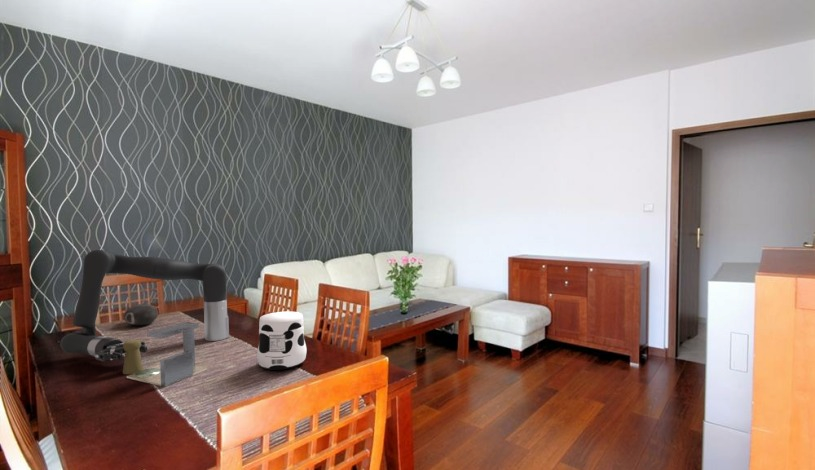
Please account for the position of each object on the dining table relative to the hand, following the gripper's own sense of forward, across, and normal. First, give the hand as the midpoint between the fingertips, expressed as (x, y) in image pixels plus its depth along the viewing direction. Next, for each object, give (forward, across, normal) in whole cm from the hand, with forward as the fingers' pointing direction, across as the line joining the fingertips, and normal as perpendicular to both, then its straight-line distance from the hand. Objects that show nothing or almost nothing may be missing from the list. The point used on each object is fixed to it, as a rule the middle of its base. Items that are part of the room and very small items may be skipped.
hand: (134, 353), depth 141 cm
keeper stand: (+13, +3, +7) cm, 15 cm away
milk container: (+45, +25, +7) cm, 51 cm away
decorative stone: (-61, +42, +7) cm, 74 cm away
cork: (-1, 0, +7) cm, 7 cm away
